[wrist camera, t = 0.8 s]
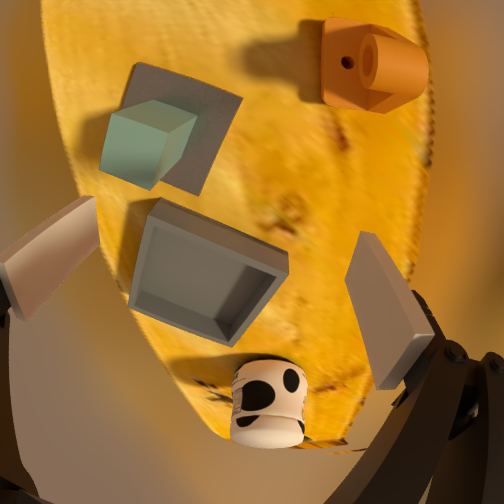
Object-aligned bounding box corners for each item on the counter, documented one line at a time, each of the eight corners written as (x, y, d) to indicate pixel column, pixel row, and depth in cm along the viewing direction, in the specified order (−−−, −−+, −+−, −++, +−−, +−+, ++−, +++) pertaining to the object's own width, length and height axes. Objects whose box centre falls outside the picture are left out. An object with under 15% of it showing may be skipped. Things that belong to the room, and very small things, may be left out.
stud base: (140, 62, 26) (117, 62, 21) (243, 97, 29) (237, 102, 24) (112, 157, 34) (89, 173, 29) (200, 193, 37) (188, 214, 32)
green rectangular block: (153, 99, 28) (111, 113, 20) (197, 115, 29) (168, 133, 21) (139, 142, 32) (98, 169, 24) (180, 158, 33) (149, 190, 25)
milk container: (310, 382, 65) (312, 446, 50) (245, 388, 69) (239, 449, 54) (301, 347, 55) (304, 427, 41) (223, 354, 59) (211, 428, 45)
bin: (161, 197, 37) (147, 214, 33) (288, 252, 41) (289, 274, 37) (137, 287, 48) (127, 307, 44) (235, 326, 52) (232, 347, 48)
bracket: (320, 20, 22) (345, -6, 13) (380, 30, 22) (428, 17, 12) (319, 103, 29) (343, 118, 19) (377, 110, 28) (422, 131, 18)
